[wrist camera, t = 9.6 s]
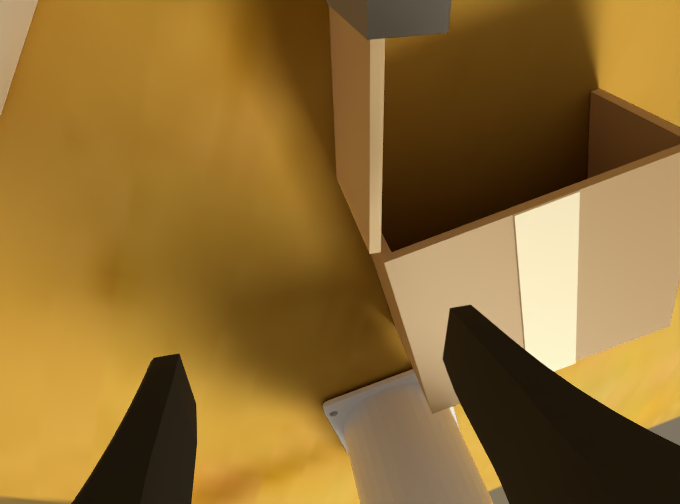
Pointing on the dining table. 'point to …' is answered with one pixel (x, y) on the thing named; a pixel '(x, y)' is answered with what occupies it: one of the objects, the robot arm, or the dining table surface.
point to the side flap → (369, 93)
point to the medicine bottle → (12, 39)
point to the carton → (554, 257)
